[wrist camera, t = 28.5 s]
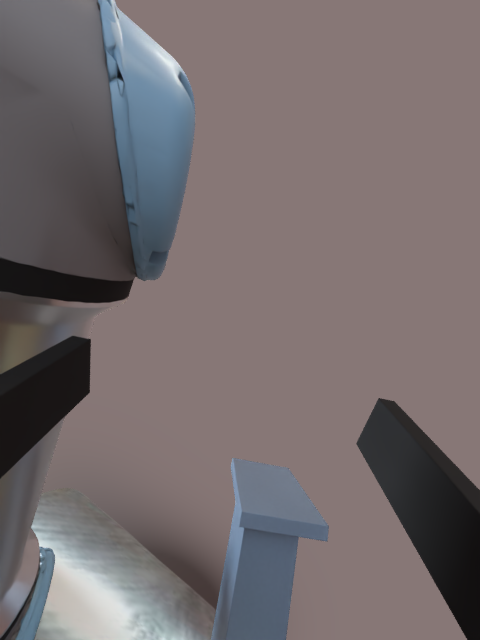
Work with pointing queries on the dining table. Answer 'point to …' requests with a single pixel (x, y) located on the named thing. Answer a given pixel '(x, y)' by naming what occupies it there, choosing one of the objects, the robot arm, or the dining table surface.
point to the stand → (263, 551)
